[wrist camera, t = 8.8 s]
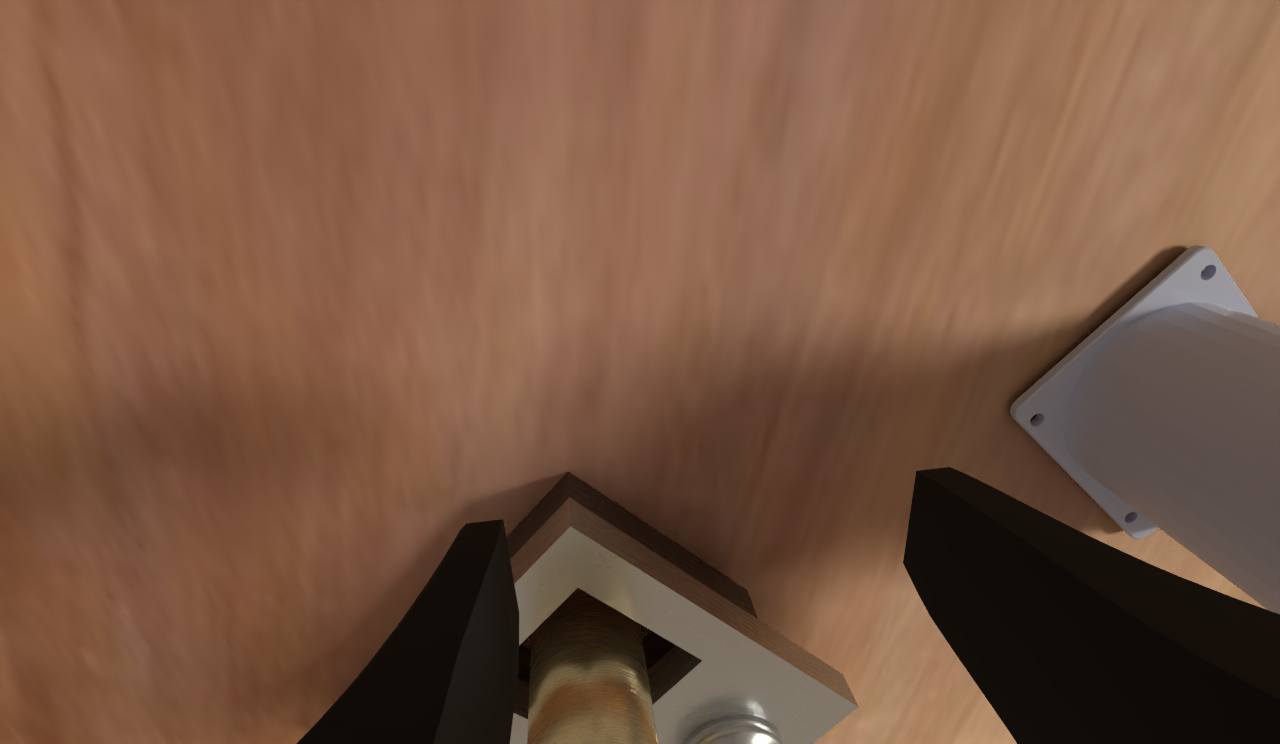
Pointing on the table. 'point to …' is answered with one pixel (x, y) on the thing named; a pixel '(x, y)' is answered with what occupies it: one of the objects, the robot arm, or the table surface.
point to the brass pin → (589, 677)
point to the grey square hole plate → (679, 640)
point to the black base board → (635, 529)
